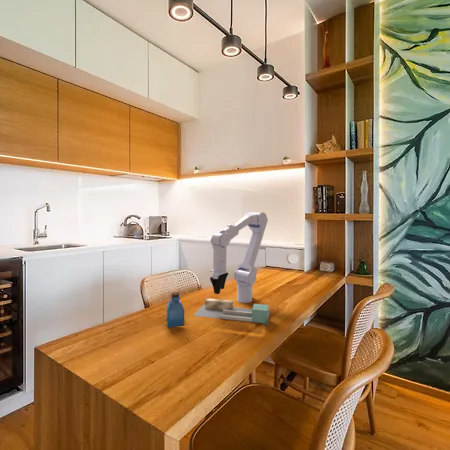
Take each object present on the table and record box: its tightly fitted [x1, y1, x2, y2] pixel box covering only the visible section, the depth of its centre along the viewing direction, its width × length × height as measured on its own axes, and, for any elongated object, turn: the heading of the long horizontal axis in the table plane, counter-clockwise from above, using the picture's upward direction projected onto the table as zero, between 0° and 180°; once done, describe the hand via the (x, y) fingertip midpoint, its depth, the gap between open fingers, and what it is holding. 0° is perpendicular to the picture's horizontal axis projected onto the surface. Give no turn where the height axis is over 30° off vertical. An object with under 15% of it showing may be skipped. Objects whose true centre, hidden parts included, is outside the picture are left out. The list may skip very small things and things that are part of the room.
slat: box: [204, 297, 234, 310], centre depth 127 cm, size 12×3×4 cm, turn 77°
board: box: [193, 303, 271, 327], centre depth 121 cm, size 14×30×6 cm, turn 77°
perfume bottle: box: [166, 291, 185, 328], centre depth 112 cm, size 6×6×12 cm
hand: (219, 291), depth 127 cm, fingers open, 7 cm apart
